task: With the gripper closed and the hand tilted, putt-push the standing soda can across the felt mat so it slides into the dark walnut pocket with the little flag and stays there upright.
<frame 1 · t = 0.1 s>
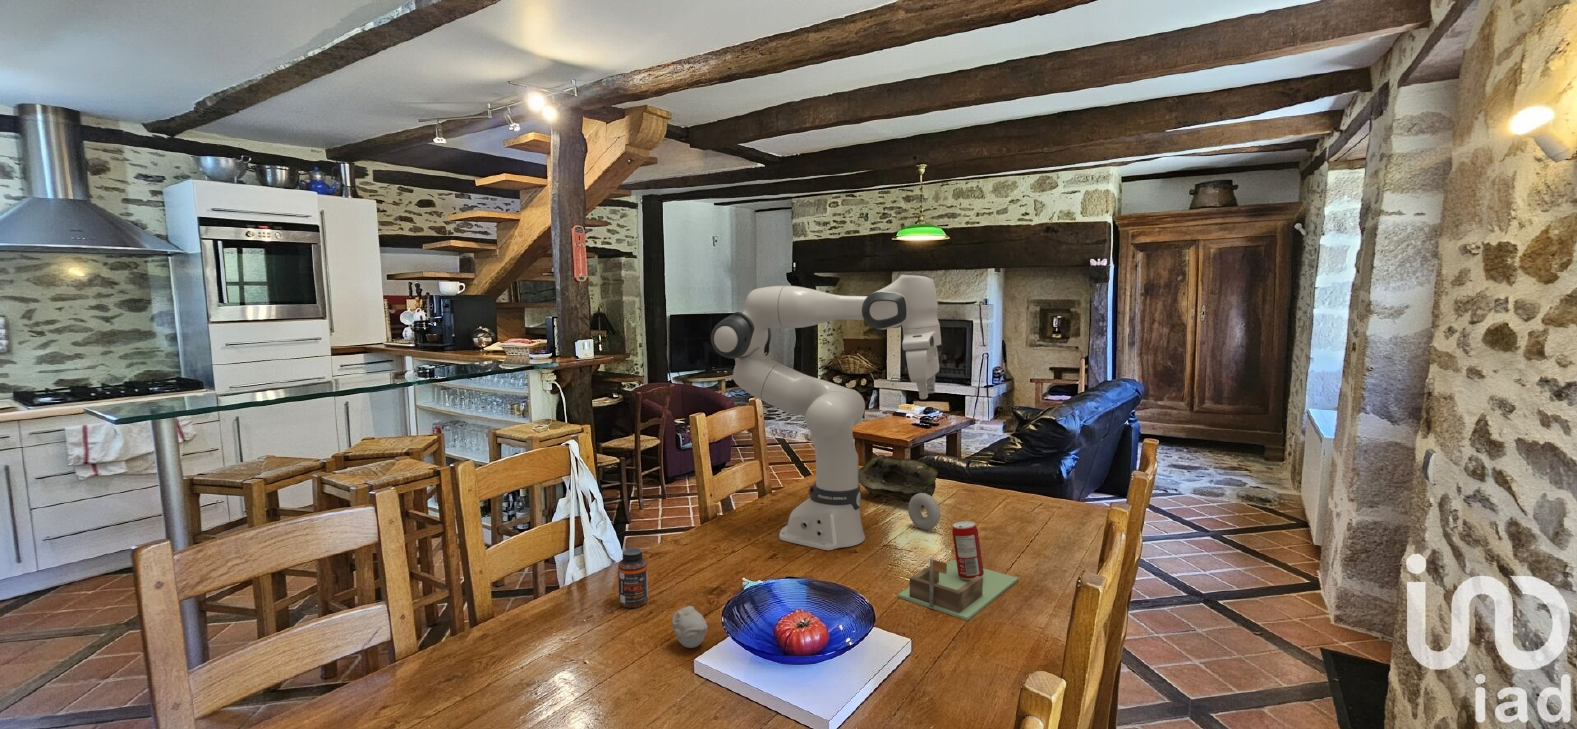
hand: (927, 395, 164), 39 cm above the table, tool pointing down, fingers open, 8 cm apart
pocket: (947, 595, 142), resting on felt mat
soda can: (971, 577, 150), point 1 cm above the table, touching felt mat
frog figurine: (690, 646, 124), on the table
hollow geode rock: (897, 502, 207), on the table
donut: (923, 530, 183), on the table
supplement bottle: (633, 603, 142), on the table
felt mat: (959, 588, 146), on the table
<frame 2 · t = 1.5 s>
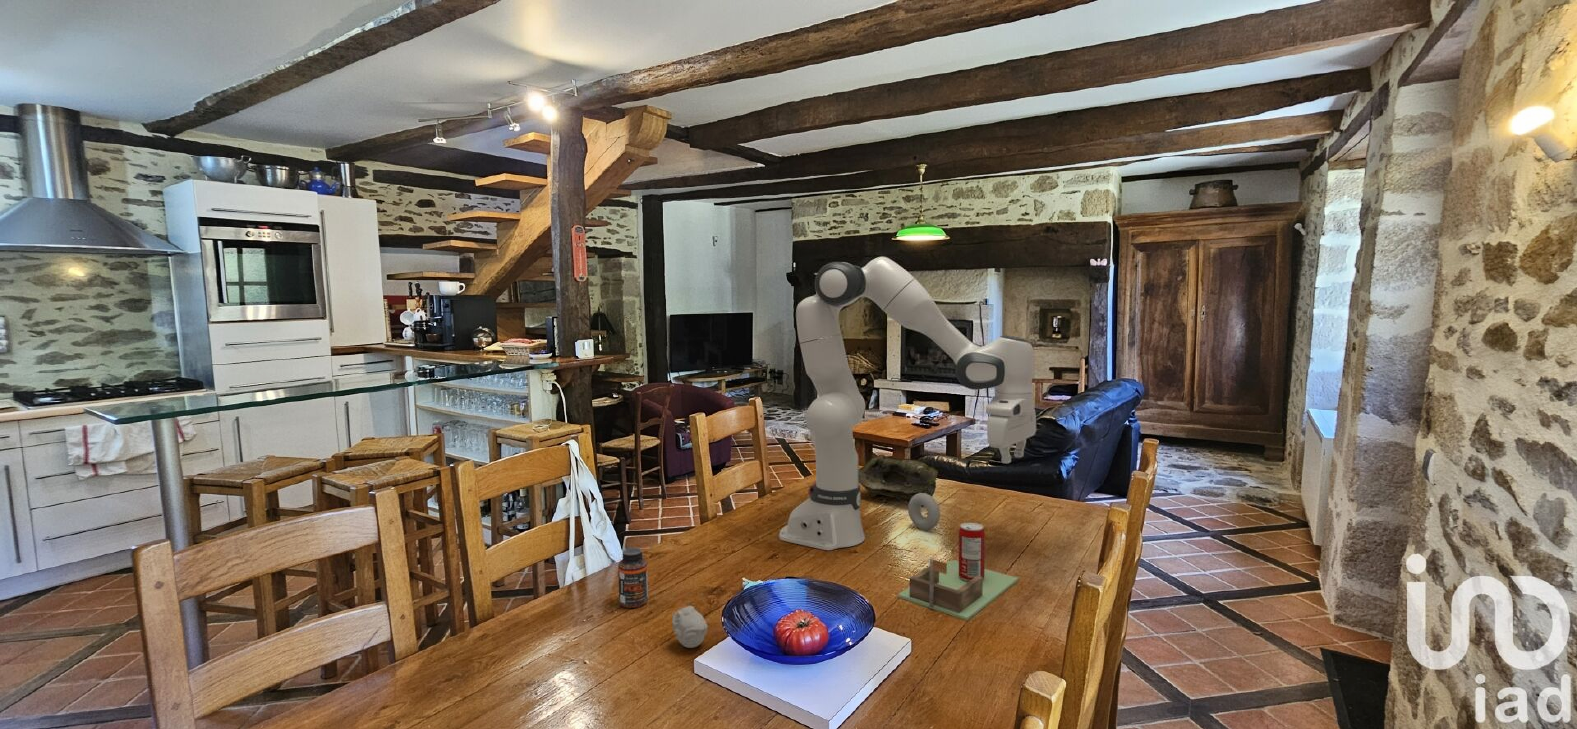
hand: (1012, 459, 163), 23 cm above the table, tool pointing down, fingers open, 6 cm apart
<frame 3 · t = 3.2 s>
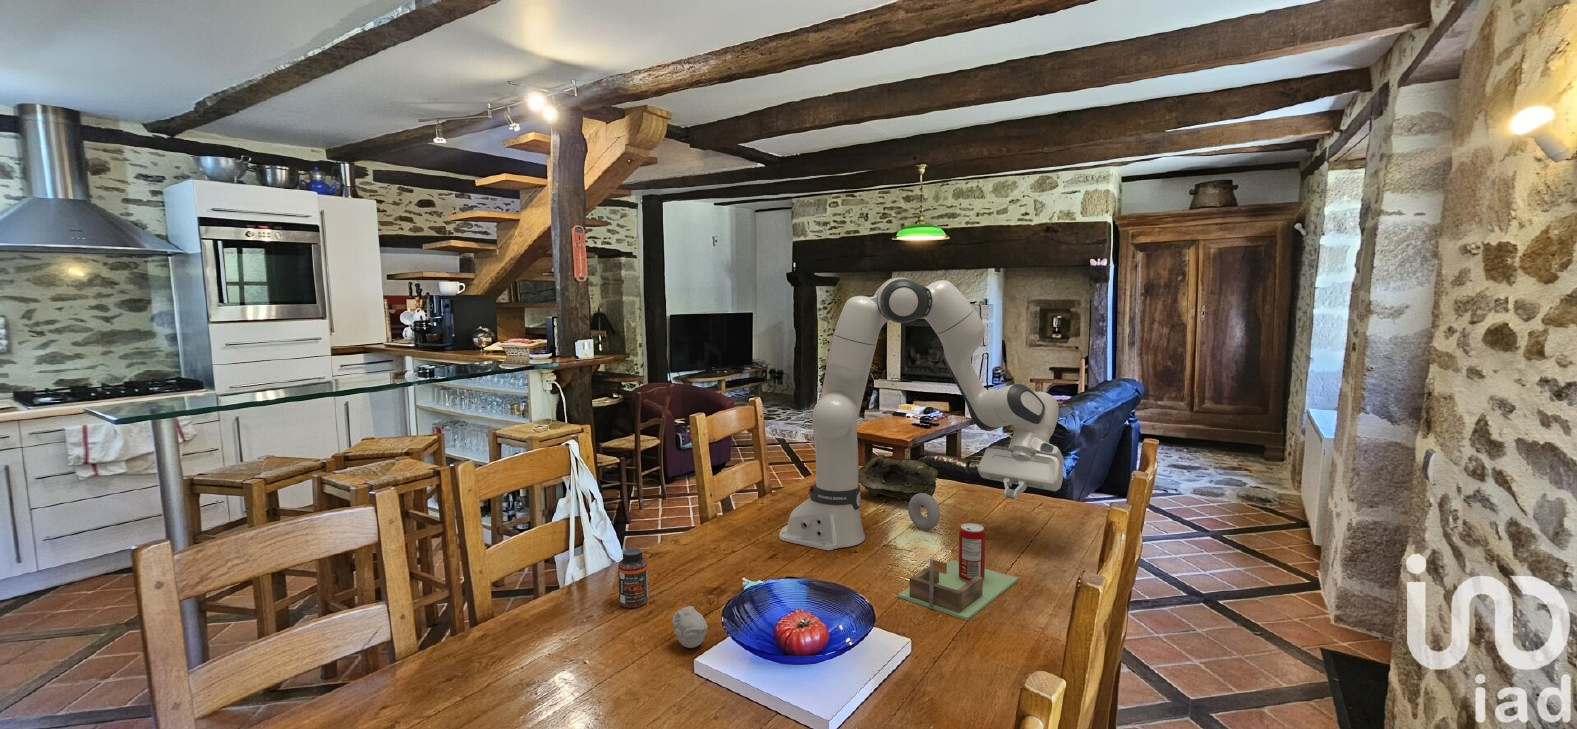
hand: (1010, 497, 163), 14 cm above the table, tool tilted 45°, fingers closed
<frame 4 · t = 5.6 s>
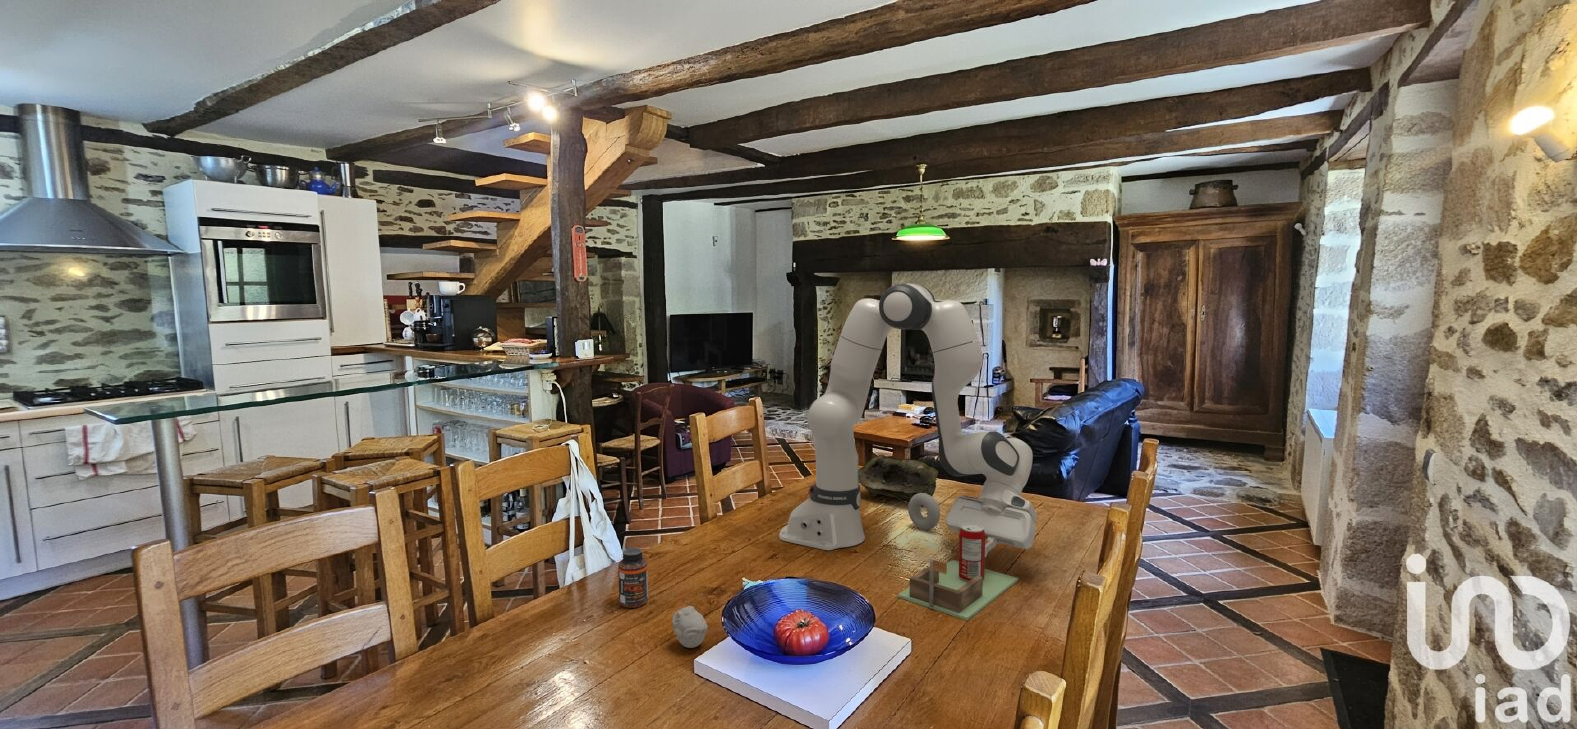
hand: (978, 555, 152), 5 cm above the table, tool tilted 45°, fingers closed, pressing on soda can
soda can: (971, 579, 150), resting on felt mat, touching gripper
everything else where it was.
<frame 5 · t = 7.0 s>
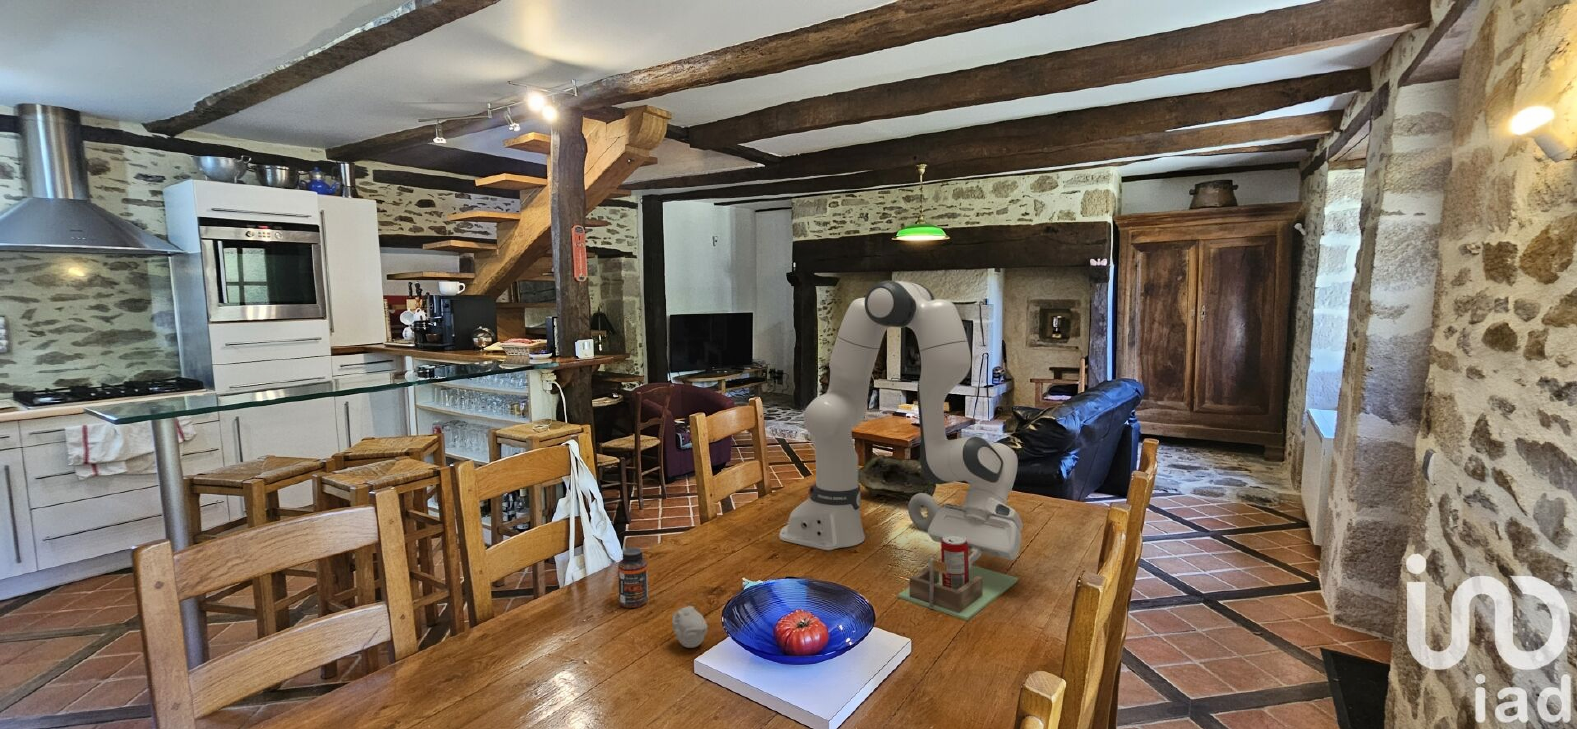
hand: (962, 566, 145), 5 cm above the table, tool tilted 45°, fingers closed, pressing on soda can
soda can: (955, 591, 144), point 1 cm above the table, touching felt mat, gripper
everything else where it was.
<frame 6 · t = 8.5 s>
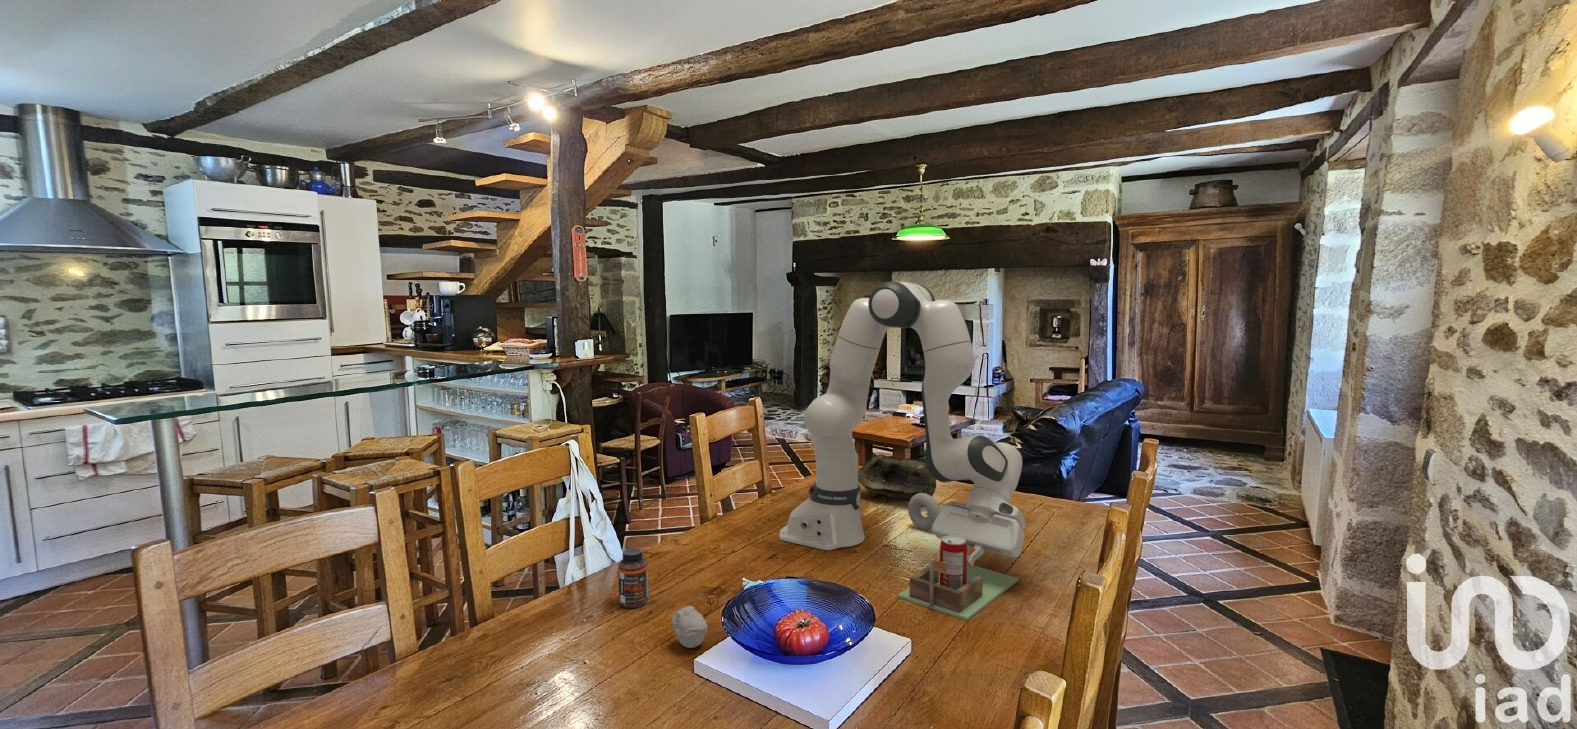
hand: (965, 563, 147), 5 cm above the table, tool tilted 45°, fingers closed
soda can: (952, 594, 143), resting on felt mat
everything else where it was.
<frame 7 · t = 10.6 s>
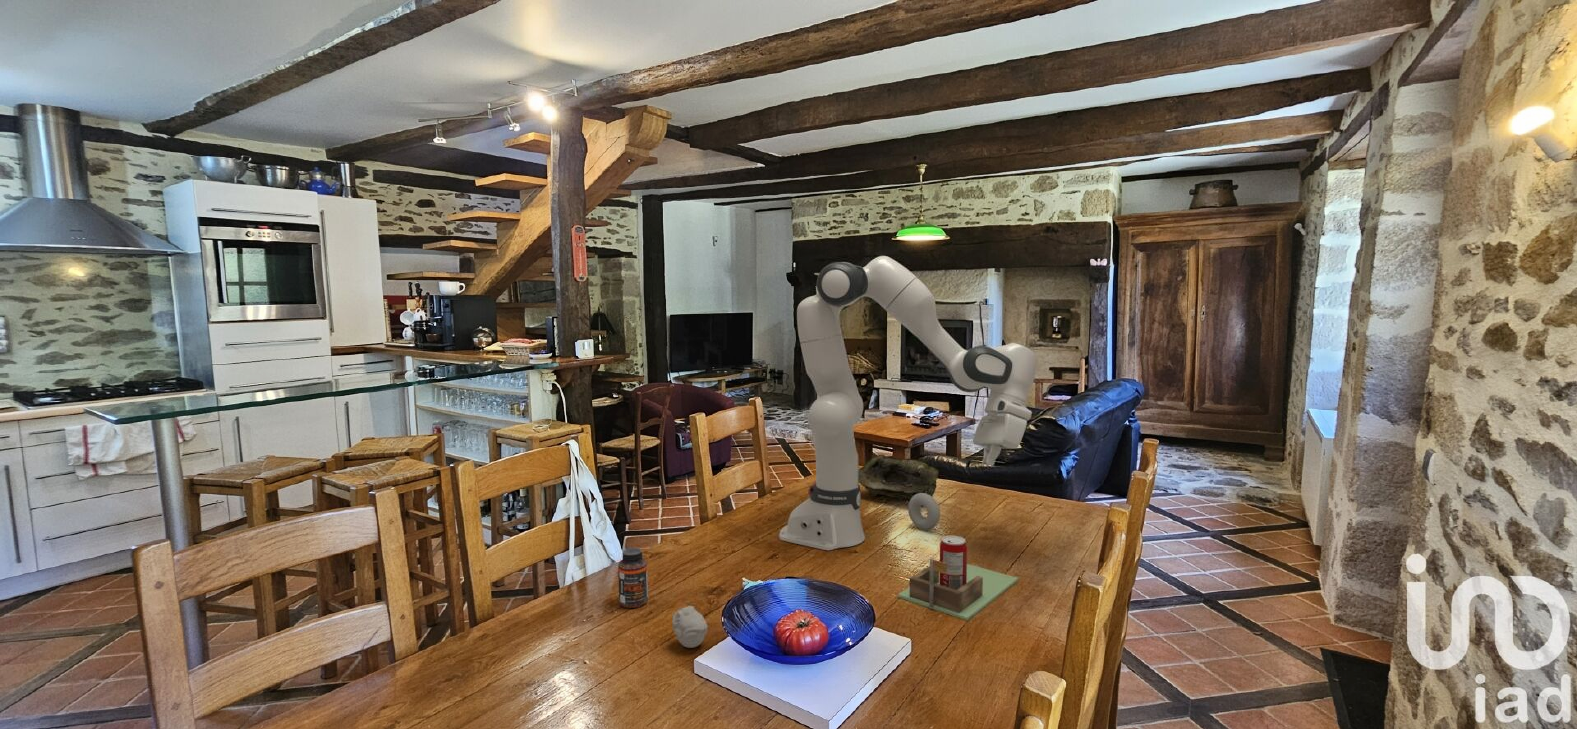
hand: (987, 464, 160), 23 cm above the table, tool tilted 25°, fingers closed
nothing on the table moved.
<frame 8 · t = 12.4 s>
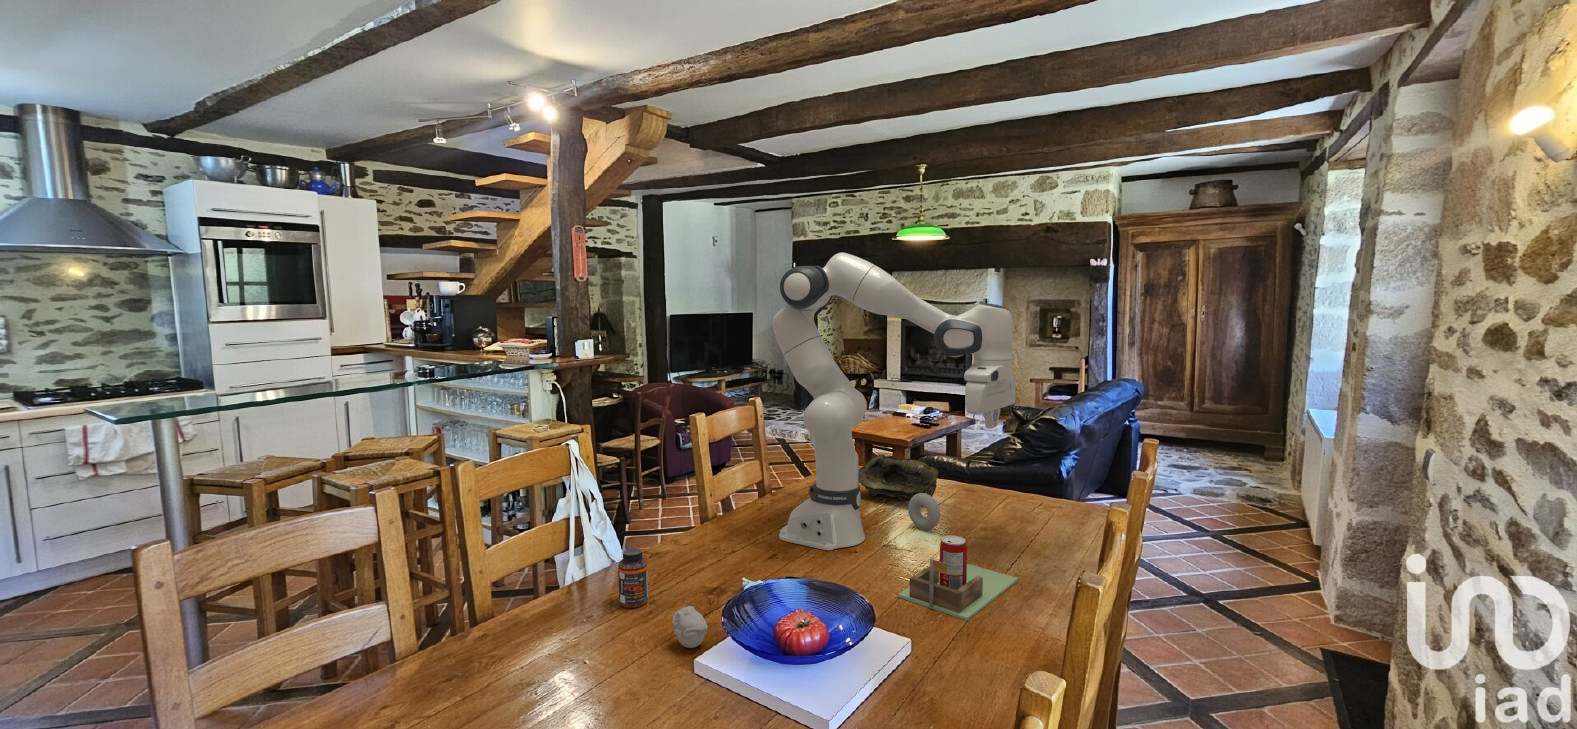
hand: (991, 427, 163), 31 cm above the table, tool pointing down, fingers closed
nothing on the table moved.
at the end: soda can 1.6 cm from the pocket (horizontally); soda can tilted 0°; soda can touching felt mat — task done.
